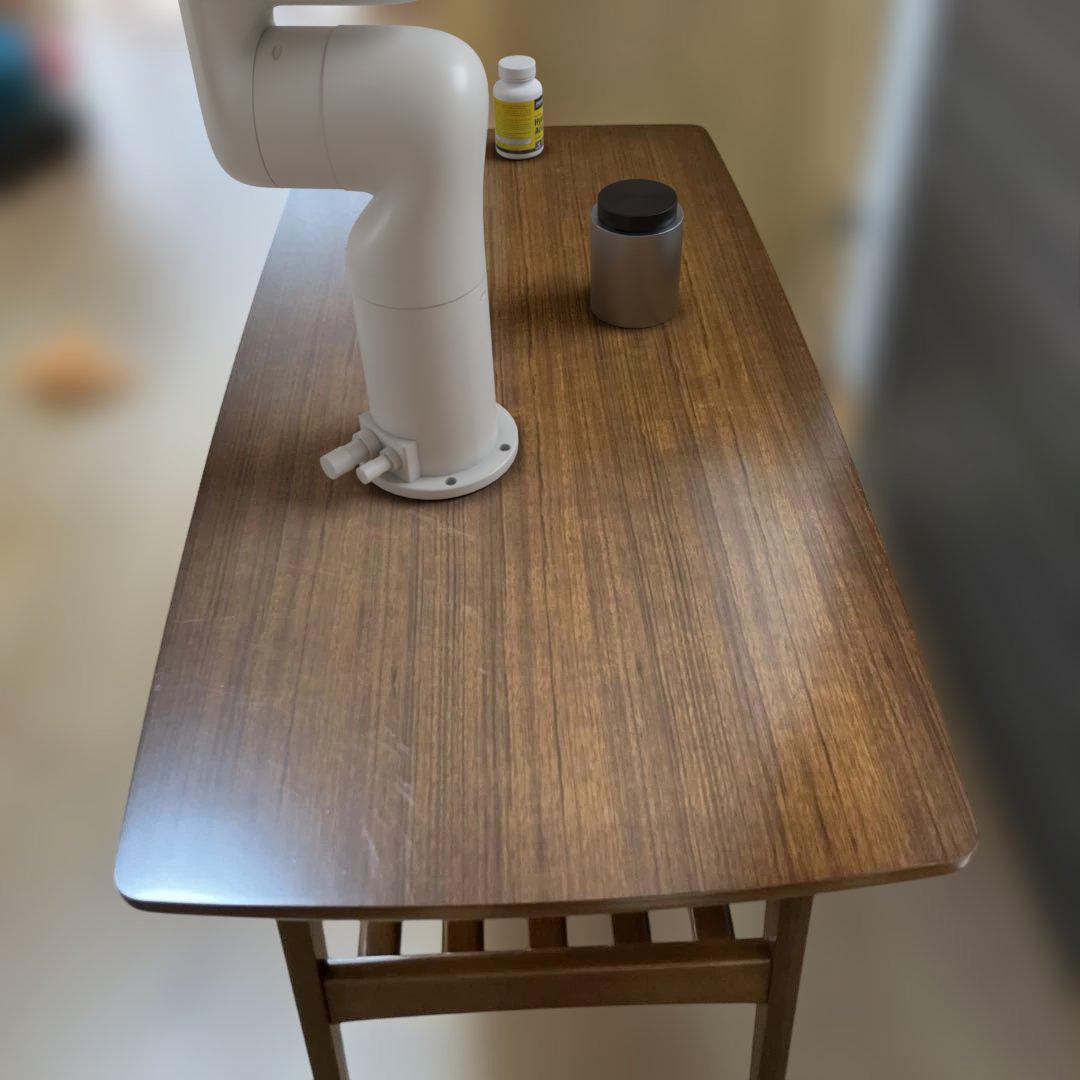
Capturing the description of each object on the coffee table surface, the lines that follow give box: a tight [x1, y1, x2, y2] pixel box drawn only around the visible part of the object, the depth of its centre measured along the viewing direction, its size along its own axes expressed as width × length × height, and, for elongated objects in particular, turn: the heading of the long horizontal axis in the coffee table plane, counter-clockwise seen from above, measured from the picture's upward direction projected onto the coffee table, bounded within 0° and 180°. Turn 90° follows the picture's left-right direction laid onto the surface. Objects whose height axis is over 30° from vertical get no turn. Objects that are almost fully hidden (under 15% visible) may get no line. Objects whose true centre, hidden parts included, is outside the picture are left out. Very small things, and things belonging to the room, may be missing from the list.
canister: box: [589, 178, 685, 329], centre depth 98 cm, size 8×8×10 cm
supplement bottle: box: [492, 54, 545, 160], centre depth 123 cm, size 5×5×10 cm
